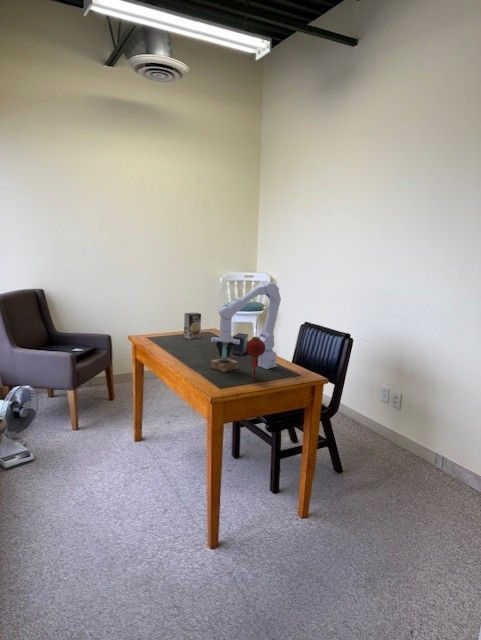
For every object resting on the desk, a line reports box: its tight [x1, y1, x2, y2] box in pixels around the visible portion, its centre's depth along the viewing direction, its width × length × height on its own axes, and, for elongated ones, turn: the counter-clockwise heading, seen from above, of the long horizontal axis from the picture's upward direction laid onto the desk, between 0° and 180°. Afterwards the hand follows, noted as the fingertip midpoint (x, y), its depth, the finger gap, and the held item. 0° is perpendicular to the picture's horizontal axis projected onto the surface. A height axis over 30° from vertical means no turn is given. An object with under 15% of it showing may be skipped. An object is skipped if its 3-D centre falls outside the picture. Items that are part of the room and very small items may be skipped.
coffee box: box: [183, 312, 202, 340], centre depth 276 cm, size 9×6×16 cm
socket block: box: [210, 357, 239, 373], centre depth 216 cm, size 10×10×4 cm
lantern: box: [246, 320, 265, 380], centre depth 199 cm, size 10×10×30 cm
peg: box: [220, 345, 229, 361], centre depth 215 cm, size 3×3×7 cm
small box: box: [231, 332, 249, 356], centre depth 245 cm, size 11×6×10 cm, turn 162°
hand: (224, 356), depth 215 cm, fingers closed on peg, 3 cm apart
